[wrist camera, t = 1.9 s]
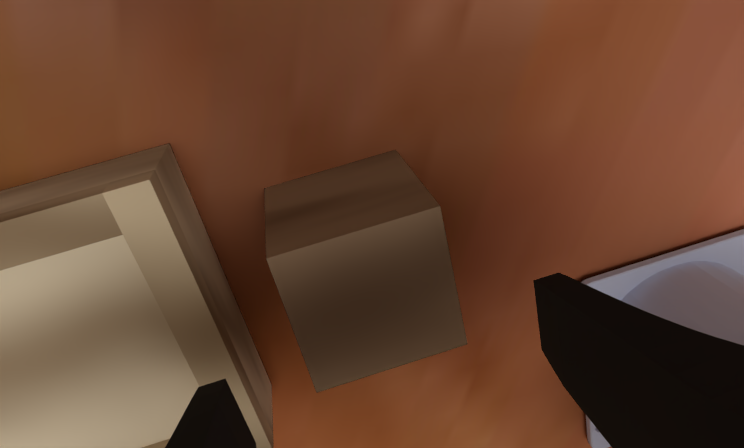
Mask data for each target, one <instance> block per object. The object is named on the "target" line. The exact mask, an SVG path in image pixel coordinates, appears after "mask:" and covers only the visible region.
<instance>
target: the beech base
mask: <svg viewBox="0 0 744 448" xmlns="http://www.w3.org/2000/svg"><path fill="white" fill-rule="evenodd" d="M225 378H226V381H227V383H228V385H229V387H230V389H231V391H232V393H233V395H234V397H235V400H236V402H237V404H238V406H239V408H240V410H241V412H242V414H243V417H244V419H245V421H246V423H247V425H248V427H249V429H250V431H251V433H252V436H253V438H254V440H255V442H256V447H257V448H273V416H272V385H271V383H270V380H269V378H268V375H267V373H266V371H265V368H264V366H263V364H262V361H261V359H260V357H259V354H258V352H257V350H256V347H255V345H254V342H253V340H252V338H251V335H250V333H249V331H248V328H247V326H246V324H245V321H244V319H243V316H242V314H241V312H240V309H239V307H238V305H237V302H236V300H235V298H234V295H233V293H232V291H231V288H230V286H229V283H228V281H227V279H226V276H225V274H224V272H223V269H222V267H221V265H220V262H219V260H218V258H217V255H216V253H215V250H214V248H213V246H212V243H211V241H210V239H209V236H208V234H207V232H206V229H205V227H204V224H203V222H202V220H201V217H200V215H199V213H198V210H197V208H196V206H195V203H194V201H193V199H192V196H191V194H190V191H189V189H188V187H187V184H186V182H185V180H184V177H183V175H182V173H181V170H180V168H179V165H178V163H177V161H176V158H175V156H174V154H173V151H172V149H171V147H170V144H166V145H162V146H158V147H155V148H151V149H148V150H144V151H141V152H137V153H134V154H130V155H127V156H123V157H120V158H116V159H113V160H109V161H105V162H102V163H98V164H95V165H91V166H88V167H84V168H81V169H77V170H74V171H70V172H67V173H63V174H60V175H56V176H52V177H49V178H45V179H42V180H38V181H35V182H31V183H28V184H24V185H21V186H17V187H14V188H10V189H7V190H3V191H0V448H165V447H166V445H167V443H168V441H169V440H170V438H171V436H172V434H173V432H174V430H175V429H176V427H177V425H178V423H179V421H180V419H181V417H182V416H183V414H184V412H185V410H186V408H187V406H188V404H189V403H190V401H191V399H192V397H193V396H194V394H195V392H196V390H197V389H198V387H200V386H203V385H206V384H209V383H213V382H216V381H219V380H222V379H225Z"/></svg>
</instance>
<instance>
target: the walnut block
mask: <svg viewBox="0 0 744 448" xmlns="http://www.w3.org/2000/svg"><path fill="white" fill-rule="evenodd" d="M264 198H265V236H266V260H267V262H268V265H269V268H270V270H271V273H272V276H273V278H274V281H275V284H276V286H277V289H278V292H279V294H280V297H281V299H282V302H283V305H284V307H285V310H286V313H287V315H288V318H289V321H290V323H291V326H292V329H293V331H294V334H295V336H296V339H297V342H298V344H299V347H300V350H301V352H302V355H303V358H304V360H305V363H306V366H307V368H308V371H309V374H310V376H311V379H312V381H313V384H314V387H315V389H316V392H320V391H323V390H326V389H330V388H333V387H336V386H339V385H342V384H345V383H348V382H351V381H354V380H358V379H361V378H364V377H367V376H370V375H373V374H376V373H379V372H382V371H385V370H389V369H392V368H395V367H398V366H401V365H404V364H407V363H410V362H413V361H417V360H420V359H423V358H426V357H429V356H432V355H435V354H438V353H441V352H444V351H448V350H451V349H454V348H457V347H460V346H463V345H466V344H467V339H466V334H465V329H464V324H463V319H462V314H461V309H460V304H459V299H458V294H457V289H456V284H455V279H454V274H453V269H452V263H451V258H450V253H449V248H448V243H447V238H446V233H445V228H444V223H443V218H442V213H441V208H440V205H439V204H438V203H437V201H436V200H435V199H434V198H433V196H432V195H431V194H430V193H429V191H428V190H427V189H426V188H425V186H424V185H423V184H422V183H421V181H420V180H419V179H418V177H417V176H416V175H415V174H414V172H413V171H412V170H411V169H410V167H409V166H408V165H407V164H406V162H405V161H404V160H403V159H402V157H401V156H400V155H399V154H398V152H397V151H396V150H393V151H390V152H386V153H383V154H380V155H376V156H373V157H369V158H366V159H363V160H359V161H356V162H352V163H349V164H345V165H342V166H339V167H335V168H332V169H328V170H325V171H322V172H318V173H315V174H311V175H308V176H304V177H301V178H298V179H294V180H291V181H287V182H284V183H281V184H277V185H274V186H270V187H267V188H264Z"/></svg>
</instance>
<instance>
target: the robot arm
mask: <svg viewBox="0 0 744 448" xmlns="http://www.w3.org/2000/svg"><path fill="white" fill-rule="evenodd" d="M534 288H535V296H536V305H537V313H538V322H539V330H540V339H541V347H542V351H543V352H544V354H545V356H546V358H547V359H548V361H549V363H550V364H551V366H552V368H553V370H554V371H555V373H556V374H557V376H558V378H559V379H560V381H561V382H562V384H563V386H564V387H565V388H566V390H567V391H568V392H569V394H570V395H571V396H572V398H573V399H574V400H575V401H576V403H577V404H578V405H579V406H580V408H581V409H582V410H583V412H584V413H585V414H586V425H587V438H588V442H589V444H590V445H591V447H592V448H608V447H612V448H744V229H742V230H739V231H736V232H732V233H729V234H726V235H723V236H720V237H717V238H714V239H710V240H707V241H704V242H701V243H698V244H695V245H691V246H688V247H685V248H682V249H679V250H676V251H673V252H669V253H666V254H663V255H660V256H657V257H654V258H650V259H647V260H644V261H641V262H638V263H635V264H632V265H628V266H625V267H622V268H619V269H616V270H613V271H609V272H606V273H603V274H600V275H597V276H594V277H591V278H587V279H585V280H583V281H582V282H579V281H577V280H575V279H572V278H570V277H568V276H566V275H563V274H561V273H556V274H553V275H550V276H546V277H543V278H540V279H537V280H534ZM165 448H257V447H256V442H255V440H254V438H253V436H252V433H251V431H250V429H249V427H248V425H247V423H246V421H245V419H244V417H243V414H242V412H241V410H240V408H239V406H238V404H237V402H236V400H235V397H234V395H233V393H232V391H231V389H230V387H229V385H228V383H227V381H226V378H225V379H222V380H219V381H216V382H213V383H209V384H206V385H203V386H200V387H198V389H197V390H196V392H195V394H194V396H193V397H192V399H191V401H190V403H189V404H188V406H187V408H186V410H185V412H184V414H183V416H182V417H181V419H180V421H179V423H178V425H177V427H176V429H175V430H174V432H173V434H172V436H171V438H170V440H169V441H168V443H167V445H166V447H165Z"/></svg>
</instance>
